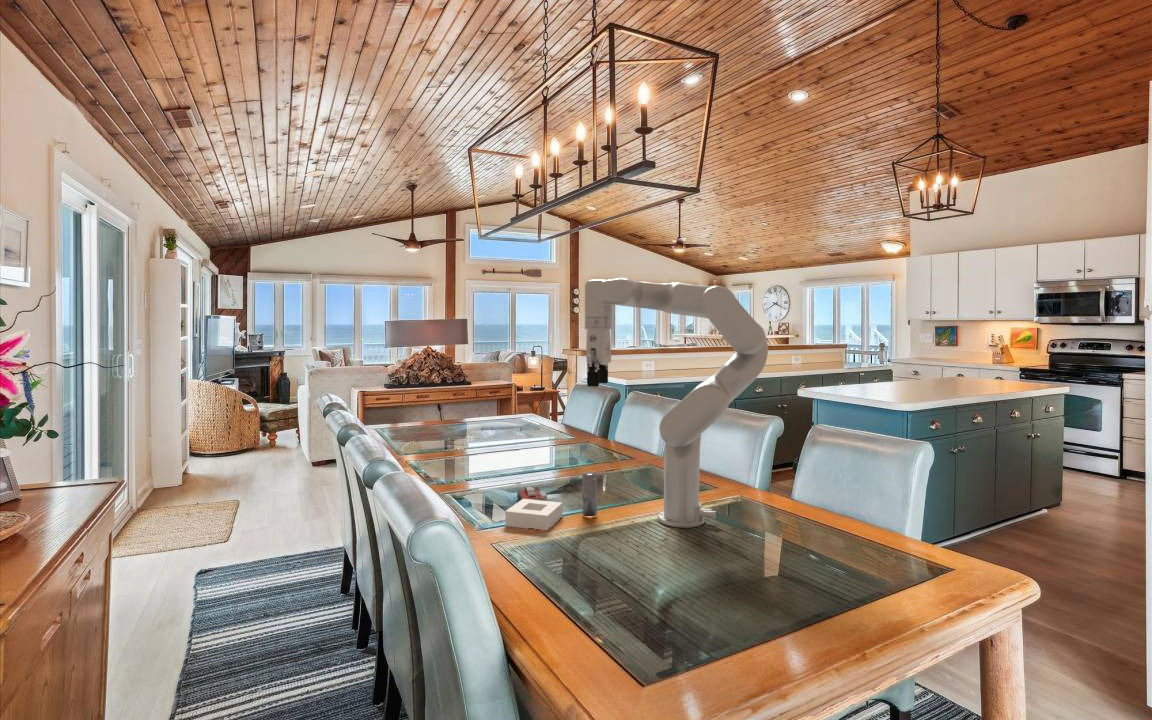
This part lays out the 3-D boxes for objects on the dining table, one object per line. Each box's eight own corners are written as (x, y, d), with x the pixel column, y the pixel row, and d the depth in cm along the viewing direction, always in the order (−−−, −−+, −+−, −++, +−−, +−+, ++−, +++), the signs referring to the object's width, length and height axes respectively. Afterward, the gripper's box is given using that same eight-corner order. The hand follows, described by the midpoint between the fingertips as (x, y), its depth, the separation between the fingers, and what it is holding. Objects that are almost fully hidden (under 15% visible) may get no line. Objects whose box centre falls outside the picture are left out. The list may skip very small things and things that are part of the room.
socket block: (562, 516, 167) (562, 502, 167) (547, 530, 156) (547, 515, 156) (523, 512, 171) (523, 498, 171) (505, 525, 160) (505, 511, 159)
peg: (598, 514, 169) (598, 472, 169) (594, 518, 166) (594, 476, 165) (585, 513, 171) (585, 471, 170) (580, 517, 167) (580, 475, 166)
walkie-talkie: (553, 510, 175) (539, 491, 194) (553, 495, 174) (539, 477, 194) (523, 512, 172) (512, 493, 192) (523, 497, 172) (512, 479, 191)
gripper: (602, 324, 159) (602, 388, 160) (618, 324, 175) (618, 382, 176) (575, 324, 161) (575, 387, 162) (593, 324, 178) (593, 381, 179)
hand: (597, 384), depth 169 cm, fingers open, 9 cm apart
